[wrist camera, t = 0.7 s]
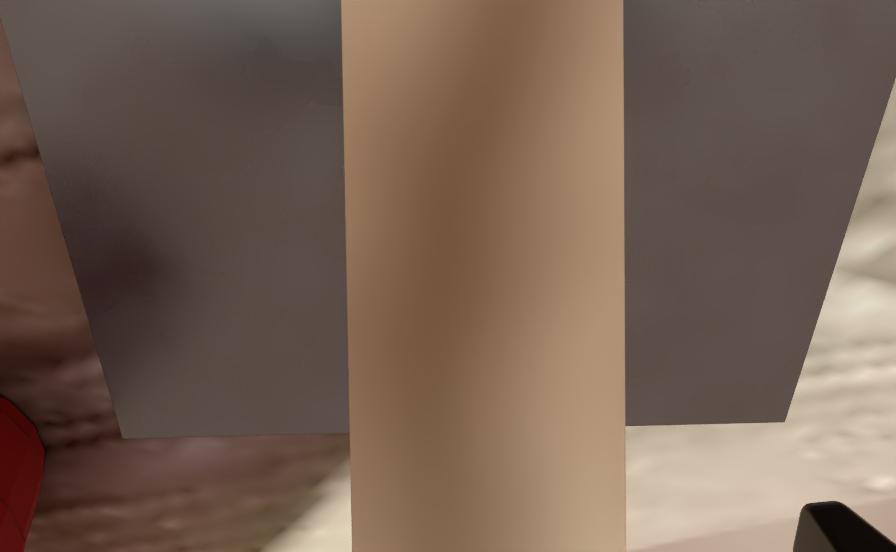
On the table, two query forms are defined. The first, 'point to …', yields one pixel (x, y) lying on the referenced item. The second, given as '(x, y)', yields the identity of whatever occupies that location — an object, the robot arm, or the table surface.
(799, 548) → the robot arm
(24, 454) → the plastic cup
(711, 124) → the mounting plate
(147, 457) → the table surface
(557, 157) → the lever
